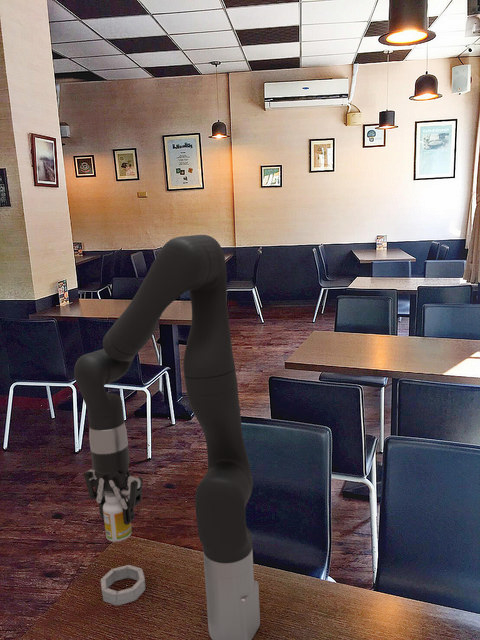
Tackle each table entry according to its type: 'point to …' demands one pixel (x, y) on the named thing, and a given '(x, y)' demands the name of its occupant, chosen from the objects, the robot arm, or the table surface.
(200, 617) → the table surface
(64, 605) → the table surface
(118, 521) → the supplement bottle
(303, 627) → the table surface
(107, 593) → the ring holder
